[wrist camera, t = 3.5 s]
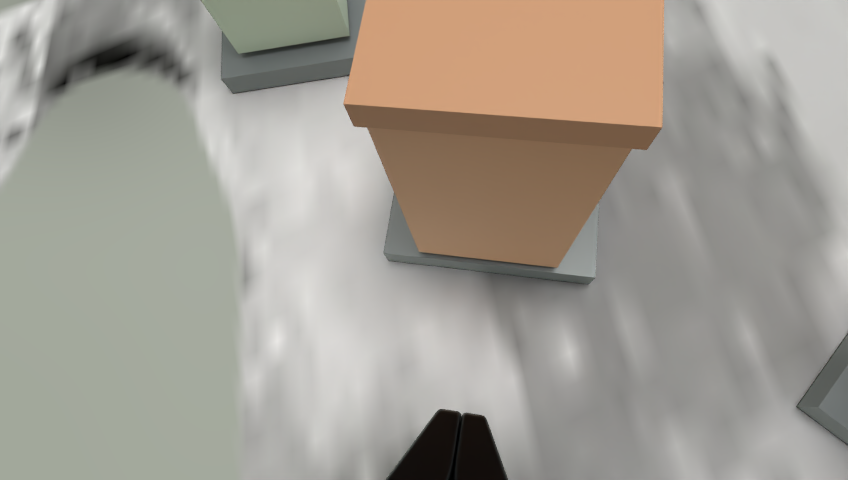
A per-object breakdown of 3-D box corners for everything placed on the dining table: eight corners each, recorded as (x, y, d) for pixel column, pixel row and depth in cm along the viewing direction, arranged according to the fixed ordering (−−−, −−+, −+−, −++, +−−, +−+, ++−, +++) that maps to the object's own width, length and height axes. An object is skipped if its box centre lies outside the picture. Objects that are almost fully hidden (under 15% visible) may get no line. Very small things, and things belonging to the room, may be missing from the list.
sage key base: (378, 70, 20) (373, 54, 19) (232, 93, 21) (221, 79, 20) (369, -37, 22) (364, -56, 21) (234, -13, 22) (223, -31, 22)
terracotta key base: (588, 284, 17) (595, 277, 16) (388, 260, 18) (383, 252, 17) (601, 59, 19) (607, 42, 18) (424, 49, 20) (421, 33, 19)
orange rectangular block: (561, 272, 16) (662, 127, 7) (414, 255, 17) (343, 103, 8) (570, 151, 17) (665, -99, 8) (432, 139, 18) (388, -103, 9)
